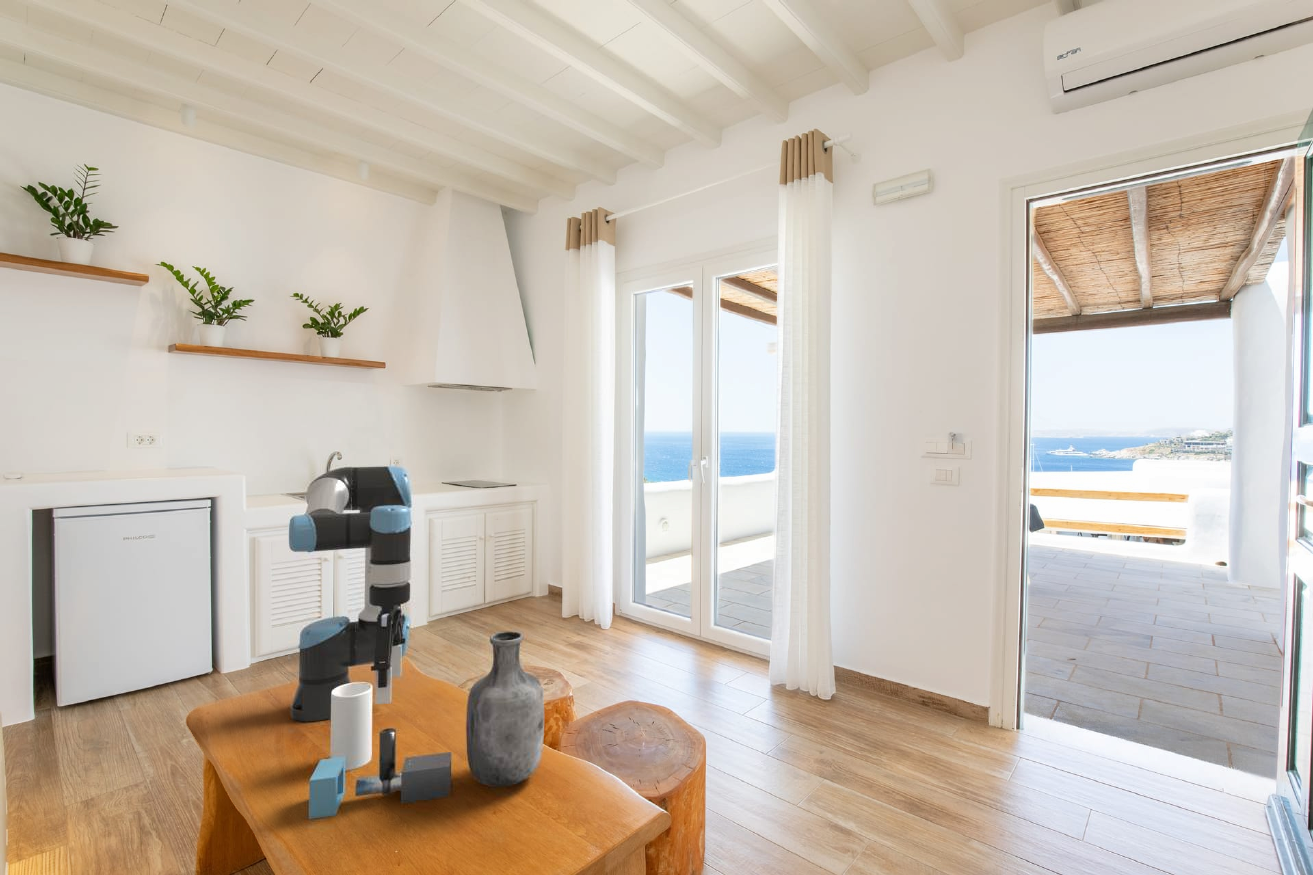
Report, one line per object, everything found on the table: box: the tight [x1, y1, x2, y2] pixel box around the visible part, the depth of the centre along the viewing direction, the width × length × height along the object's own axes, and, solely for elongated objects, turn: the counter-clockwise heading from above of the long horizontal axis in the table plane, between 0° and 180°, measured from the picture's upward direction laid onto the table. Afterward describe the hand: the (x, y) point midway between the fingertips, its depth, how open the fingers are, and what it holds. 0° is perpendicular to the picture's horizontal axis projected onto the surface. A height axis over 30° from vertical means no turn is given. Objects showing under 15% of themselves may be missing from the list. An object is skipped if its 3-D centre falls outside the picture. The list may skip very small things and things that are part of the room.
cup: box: [329, 681, 373, 772], centre depth 135 cm, size 8×8×16 cm
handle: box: [354, 727, 402, 797], centre depth 122 cm, size 17×4×12 cm, turn 105°
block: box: [400, 751, 452, 804], centre depth 123 cm, size 9×6×6 cm, turn 105°
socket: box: [308, 757, 346, 820], centre depth 118 cm, size 4×8×7 cm, turn 15°
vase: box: [465, 631, 545, 788], centre depth 128 cm, size 16×16×30 cm
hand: (388, 689), depth 121 cm, fingers open, 13 cm apart
